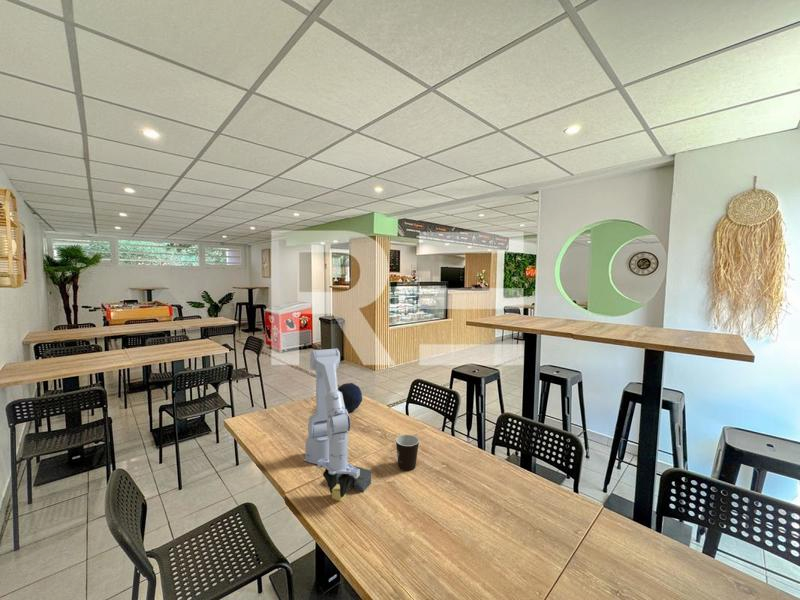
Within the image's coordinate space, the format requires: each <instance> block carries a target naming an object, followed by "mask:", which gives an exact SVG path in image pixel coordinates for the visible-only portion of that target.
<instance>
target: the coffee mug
mask: <svg viewBox="0 0 800 600" xmlns="http://www.w3.org/2000/svg"><path fill="white" fill-rule="evenodd" d="M419 443H420V439H419V437H417V436H416V435H413V434H400V435H398V436H397V437H396V438H395V445H396V457H397V465H398V468H399V470H401V471H403V472H411V471H414V470H415V469H416V465H417V460H418V459H417V457H418V450H419Z"/></svg>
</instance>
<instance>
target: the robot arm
mask: <svg viewBox="0 0 800 600" xmlns="http://www.w3.org/2000/svg"><path fill="white" fill-rule="evenodd" d="M309 358H310V359H309V360H310V361H309V367H310V370H312V371H315V397H316V398H315V402H316V403H315V407H316V408H315V411H314V412H313V413H312V414H311V415H309V418H308V423H307V433H308V434H307V435H308V436H307V438H306V439H305V458H304V459H303V461H304V462H307V463H310V464H314V465H317V468H324V469H325V470H324V472H323V473H322V476H323V478H324V479H325V481H326V483H327V485H328V488H329V489H328V490H329V492H330V494H331V495H332V489H333V488H334V487H335V486H336V485H337V483H336V478H337V473H340V474H342V475H341V476H340V477H339V478H338V480H339V485H340V496H341V497H343V496H344V495H345V494H346V495H347V493H346V490H347V486H348V483H349V481H350V479H351V477H352V476H354V478H356V479H357V478H358V477H359V475H360V469H357V468H355V467H354V466H355V465H353V464H351V463H349V462H348V458H349V457H348V450H349V449H348V445H349V444H348V443H349V442H348V438H349V437H348V436H349V432H350V431H351V426H352V425H351V418H350V415H349V412H347V409H345V405H344V400H343V395H342V393H341V392H340V391H338V388H339V387H338V376H337V370H338V368H339V365H340V363H341V353H340V350H339V348H337V347H336V348H335V347H334V348H329V349H328V348H327V349H312V350H311V351H310V354H309ZM352 465H353V466H352Z"/></svg>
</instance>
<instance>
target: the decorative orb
mask: <svg viewBox="0 0 800 600" xmlns="http://www.w3.org/2000/svg"><path fill="white" fill-rule="evenodd" d="M338 391H340V392H341V393H342V395H343V400H344V405H345V409H347V412H348V413H350V412H353V411H354V410H356V409H358V408H359V406H360V405H361V403H362V402H363V394H362V390H361V388H360V387H359V386H358V385H356V384H355V383H353V382H348V383H342V385H340V386H339V387H338Z"/></svg>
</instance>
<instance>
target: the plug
mask: <svg viewBox="0 0 800 600" xmlns="http://www.w3.org/2000/svg"><path fill="white" fill-rule="evenodd" d="M352 487H354V478H353V477H351V479H350V481H349V483H348V486H347V490H346V494H345V495H344V496H343V497H341V496H340V484H337V483H336V486H335V487H334V488H333V489H332V494H331V499H333V500H335V501H337V502H338V501H339V502H342V500H344V498H345V496H347V493H348V492H349V491H350V490H351V488H352Z"/></svg>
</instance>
